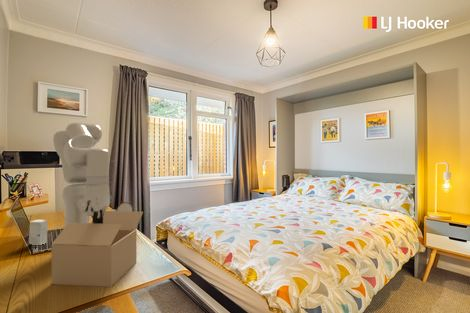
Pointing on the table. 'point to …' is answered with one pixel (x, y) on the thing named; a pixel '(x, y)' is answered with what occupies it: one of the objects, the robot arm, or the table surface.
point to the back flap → (122, 219)
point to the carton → (94, 261)
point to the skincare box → (38, 232)
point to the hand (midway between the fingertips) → (97, 227)
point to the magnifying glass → (125, 207)
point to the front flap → (87, 234)
